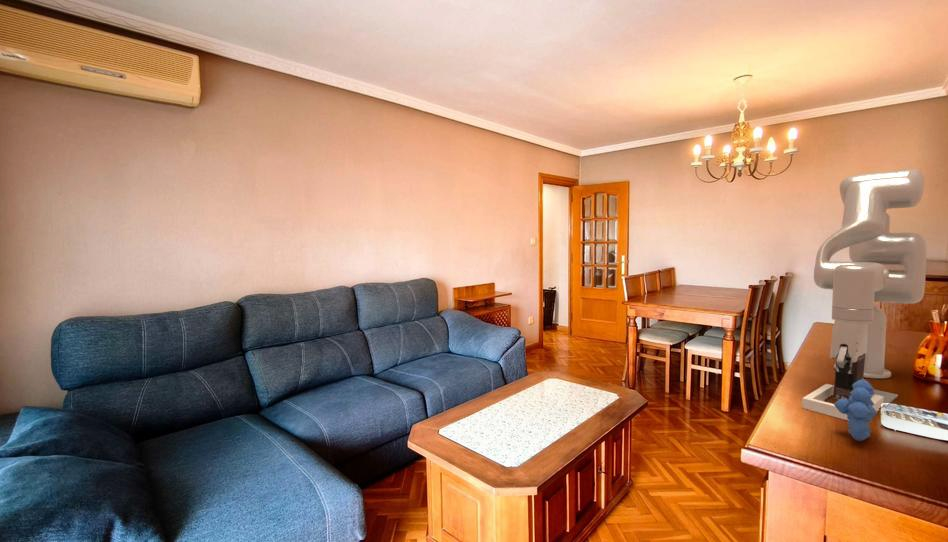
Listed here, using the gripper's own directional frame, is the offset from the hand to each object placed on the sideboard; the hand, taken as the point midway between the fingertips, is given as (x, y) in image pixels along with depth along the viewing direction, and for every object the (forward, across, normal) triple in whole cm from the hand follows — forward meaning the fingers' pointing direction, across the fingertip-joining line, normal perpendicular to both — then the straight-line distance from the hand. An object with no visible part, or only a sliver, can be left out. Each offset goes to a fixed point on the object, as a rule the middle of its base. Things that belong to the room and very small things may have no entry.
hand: (848, 384), depth 101 cm
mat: (+5, -10, 0) cm, 11 cm away
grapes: (+5, +21, +6) cm, 22 cm away
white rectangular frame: (+5, +4, 0) cm, 6 cm away
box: (+4, 0, 0) cm, 4 cm away
